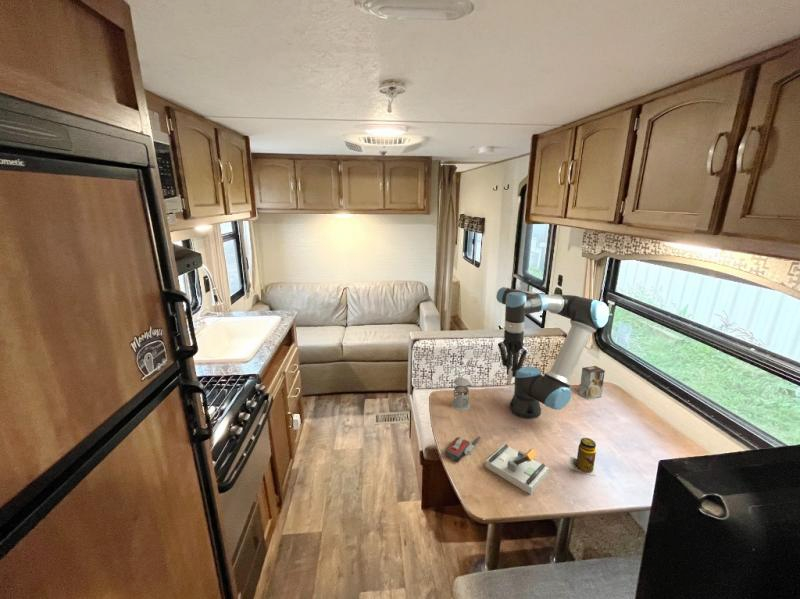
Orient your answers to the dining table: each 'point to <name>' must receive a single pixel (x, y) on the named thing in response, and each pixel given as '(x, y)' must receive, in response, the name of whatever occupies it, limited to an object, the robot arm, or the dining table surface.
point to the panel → (517, 469)
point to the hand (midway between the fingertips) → (511, 382)
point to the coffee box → (591, 382)
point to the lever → (525, 457)
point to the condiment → (584, 457)
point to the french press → (461, 400)
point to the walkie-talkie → (459, 449)
